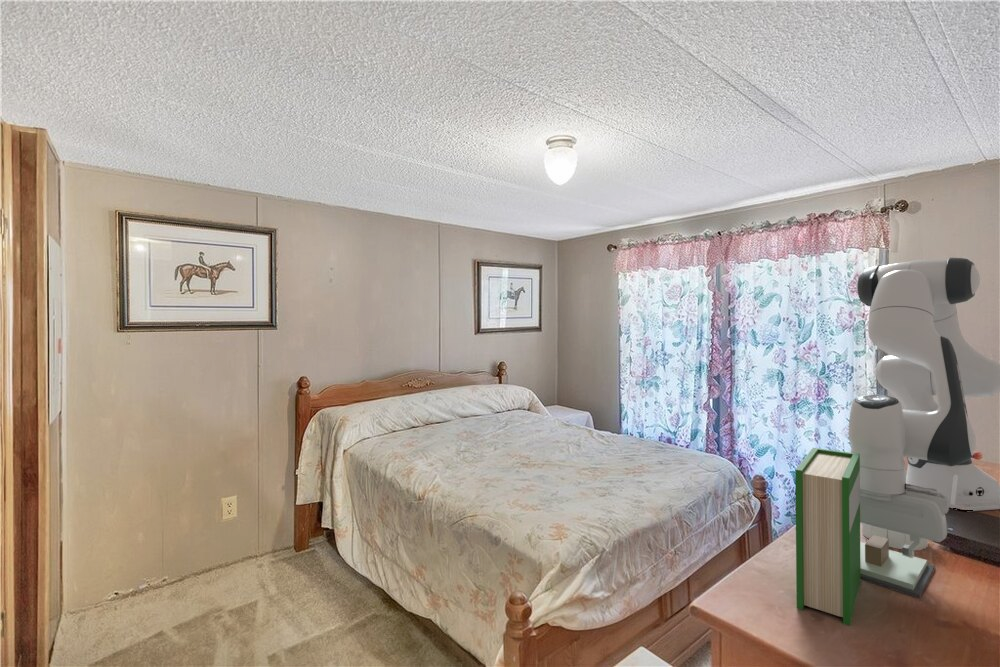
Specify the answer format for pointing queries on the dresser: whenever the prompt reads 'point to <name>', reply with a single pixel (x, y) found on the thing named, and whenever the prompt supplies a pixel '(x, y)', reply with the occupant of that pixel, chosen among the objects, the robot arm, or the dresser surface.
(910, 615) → the dresser surface
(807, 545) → the hardback book
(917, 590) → the mat
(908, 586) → the lid
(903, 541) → the bowl
